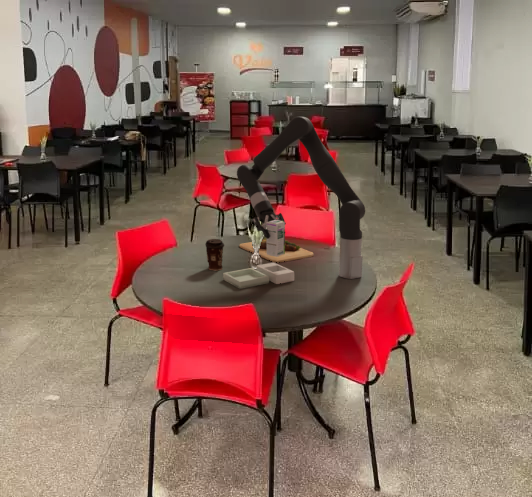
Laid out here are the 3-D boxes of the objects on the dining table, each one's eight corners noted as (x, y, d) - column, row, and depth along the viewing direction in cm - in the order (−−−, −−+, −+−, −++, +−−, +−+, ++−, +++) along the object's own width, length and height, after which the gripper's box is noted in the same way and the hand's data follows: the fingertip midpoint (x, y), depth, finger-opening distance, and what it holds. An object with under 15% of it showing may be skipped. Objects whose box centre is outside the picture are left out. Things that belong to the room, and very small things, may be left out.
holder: (294, 280, 276) (294, 271, 275) (276, 284, 271) (276, 275, 270) (273, 271, 289) (273, 262, 288) (256, 274, 284) (256, 265, 283)
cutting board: (237, 247, 329) (237, 233, 327) (275, 241, 341) (275, 227, 339) (275, 264, 301) (275, 249, 299) (315, 257, 313) (316, 242, 311)
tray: (268, 283, 273) (268, 276, 272) (240, 288, 265) (239, 281, 264) (251, 274, 284) (251, 267, 283) (223, 279, 277) (223, 273, 276)
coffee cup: (201, 269, 290) (201, 241, 287) (211, 264, 297) (211, 237, 294) (218, 272, 286) (217, 244, 283) (228, 267, 294) (227, 239, 290)
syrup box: (276, 257, 273) (277, 223, 270) (265, 254, 277) (266, 221, 273) (284, 254, 278) (285, 221, 274) (273, 251, 281) (274, 219, 277)
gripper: (250, 201, 274) (265, 234, 268) (278, 197, 282) (293, 229, 276) (244, 211, 280) (258, 243, 274) (272, 207, 288) (286, 238, 281)
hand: (276, 236), depth 275 cm, fingers closed on syrup box, 7 cm apart
